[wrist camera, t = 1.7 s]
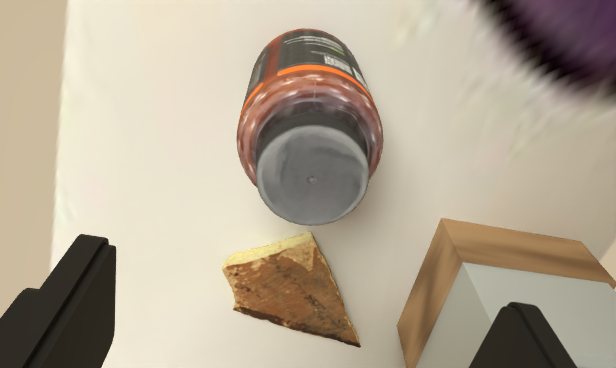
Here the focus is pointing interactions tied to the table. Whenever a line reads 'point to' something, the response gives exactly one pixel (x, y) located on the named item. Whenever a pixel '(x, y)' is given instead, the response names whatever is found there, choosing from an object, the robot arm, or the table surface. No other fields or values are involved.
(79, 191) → the table surface
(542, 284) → the tower top
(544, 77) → the table surface
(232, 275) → the shard
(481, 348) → the robot arm
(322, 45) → the supplement bottle
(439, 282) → the tower bottom
